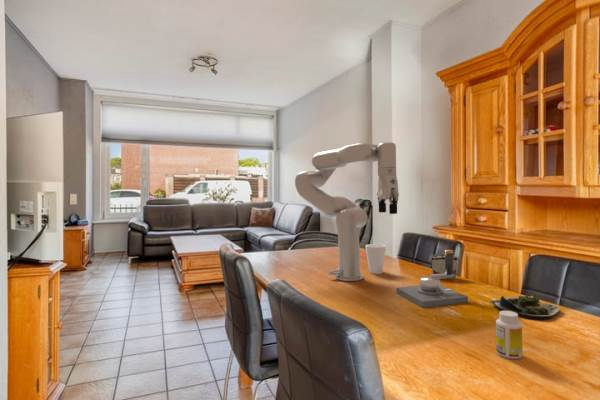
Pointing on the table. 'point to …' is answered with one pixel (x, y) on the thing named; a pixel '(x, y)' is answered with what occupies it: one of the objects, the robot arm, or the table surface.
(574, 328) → the table surface
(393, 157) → the robot arm
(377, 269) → the foam cup
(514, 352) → the supplement bottle
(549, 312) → the salad plate
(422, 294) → the post base
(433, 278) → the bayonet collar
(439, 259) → the food container
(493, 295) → the table surface
